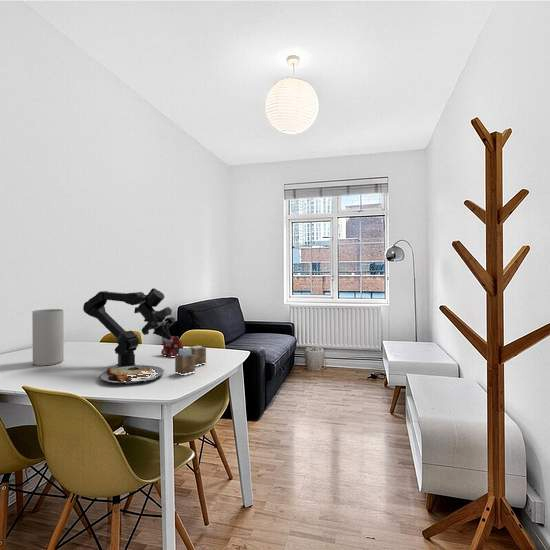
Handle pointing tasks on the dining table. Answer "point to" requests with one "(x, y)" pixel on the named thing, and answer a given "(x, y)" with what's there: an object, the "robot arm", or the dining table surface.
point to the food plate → (129, 373)
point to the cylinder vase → (47, 337)
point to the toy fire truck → (171, 346)
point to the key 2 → (184, 352)
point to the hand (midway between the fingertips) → (170, 339)
